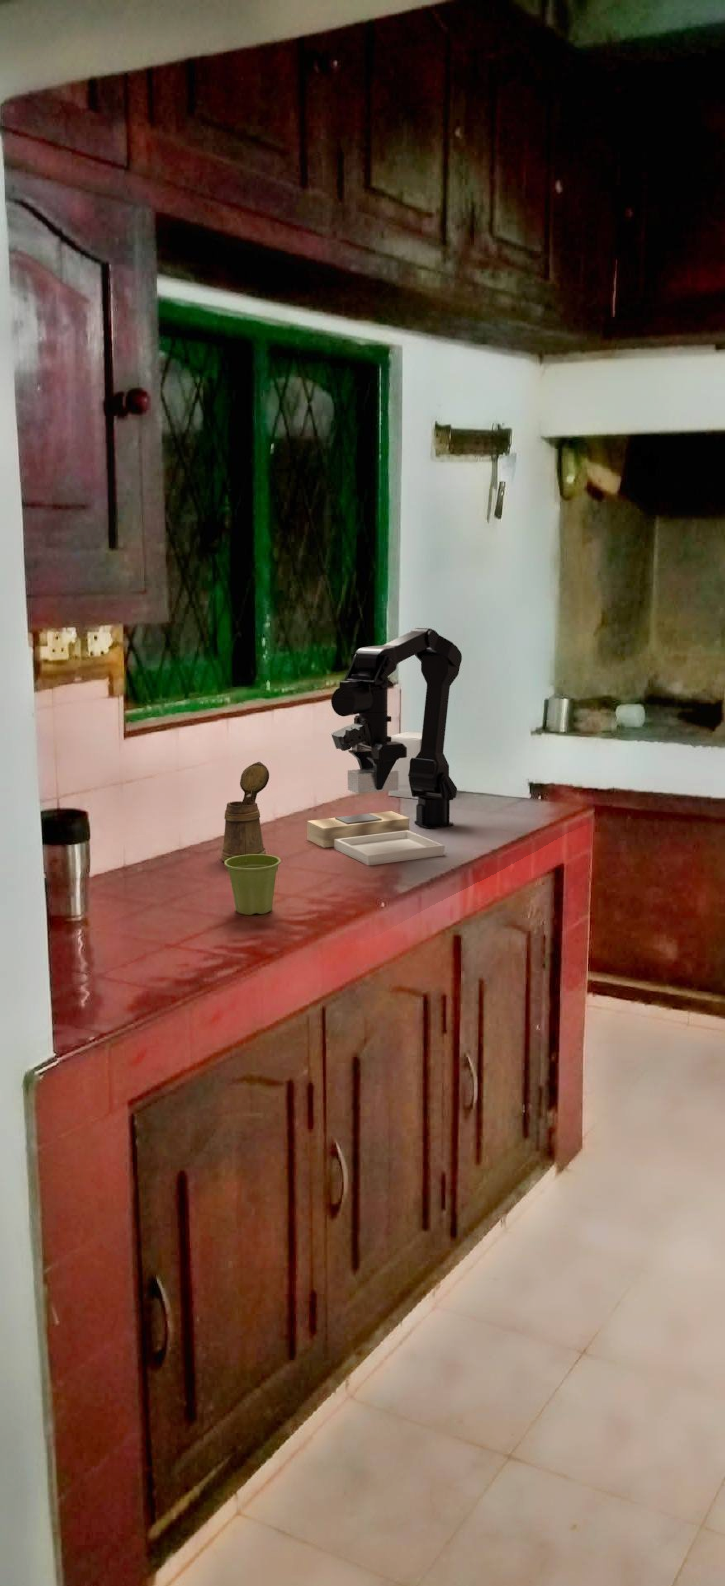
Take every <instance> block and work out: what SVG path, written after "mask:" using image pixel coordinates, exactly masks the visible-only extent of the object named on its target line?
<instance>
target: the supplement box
mask: <svg viewBox="0 0 725 1586" xmlns="http://www.w3.org/2000/svg"><path fill="white" fill-rule="evenodd" d="M389 736H390V737H391V742H393V741H396V742H399V743H402V744H404V745H405V746H406V747H407V757H406V758H399V759H398V760H397V761H396V762H395V764H394V766H393V768H392V769H395V770H398V790H395V791H388V796H389V797H396V798H405V799H413V800H414V799H415V800H418V797H412V793H411V788H410V784H409V776H408V774H409V769H410V760H411V758H415V757H416V756H417V755H418V753H419V752H420V749H421V740H422V732H415V731H413V732H412V731H404V732H401V733H400V732H399V733H396V734H393V735H389Z"/></svg>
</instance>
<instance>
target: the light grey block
mask: <svg viewBox="0 0 725 1586" xmlns="http://www.w3.org/2000/svg"><path fill="white" fill-rule="evenodd" d="M347 790H348V791H350V792H352V793H355V794H358V795H361V794H372V793H382V792H389V791H395V790H398V770H395V769H392V770H391V771H390V774H389V776H388V778H387V780H386V782H385V784H384V786H383V788H382V790H377V789H376V784H375V776H374V768H369V769H360V768H359V769H348V770H347Z"/></svg>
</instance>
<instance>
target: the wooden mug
mask: <svg viewBox="0 0 725 1586" xmlns="http://www.w3.org/2000/svg"><path fill="white" fill-rule="evenodd" d="M269 780H270V771H269V769H268V767H267V766H266V765H265V764H263V763H262V762H261V761H257V762H254V763H253V764H250V765H249V766H247V767H245V769H244V770H243V771H242V773H241V776H240V780H239V781H240V782H239V787H240V789H241V790H242V791H243V792H244V794H243V799H242V801H237V800H236V801H230V802H227V803H226V809H225V811H224V821H225V822H224V835H223V846H222V847H223V848H222V849H221V861H222V862H224V863H225V861H226V860H227V859H229V858H232V857H235V856H241V855H249V854H264V855H267V853H266V847H264V839H263V834H262V827H261V820H260V818H261V812H260V809H259V806H258V803H257V802H256V799H257V796H258V794H259V793H260V792H261V791H263V790H264V789H265V788H266V787H267V784H268V783H269Z"/></svg>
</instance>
